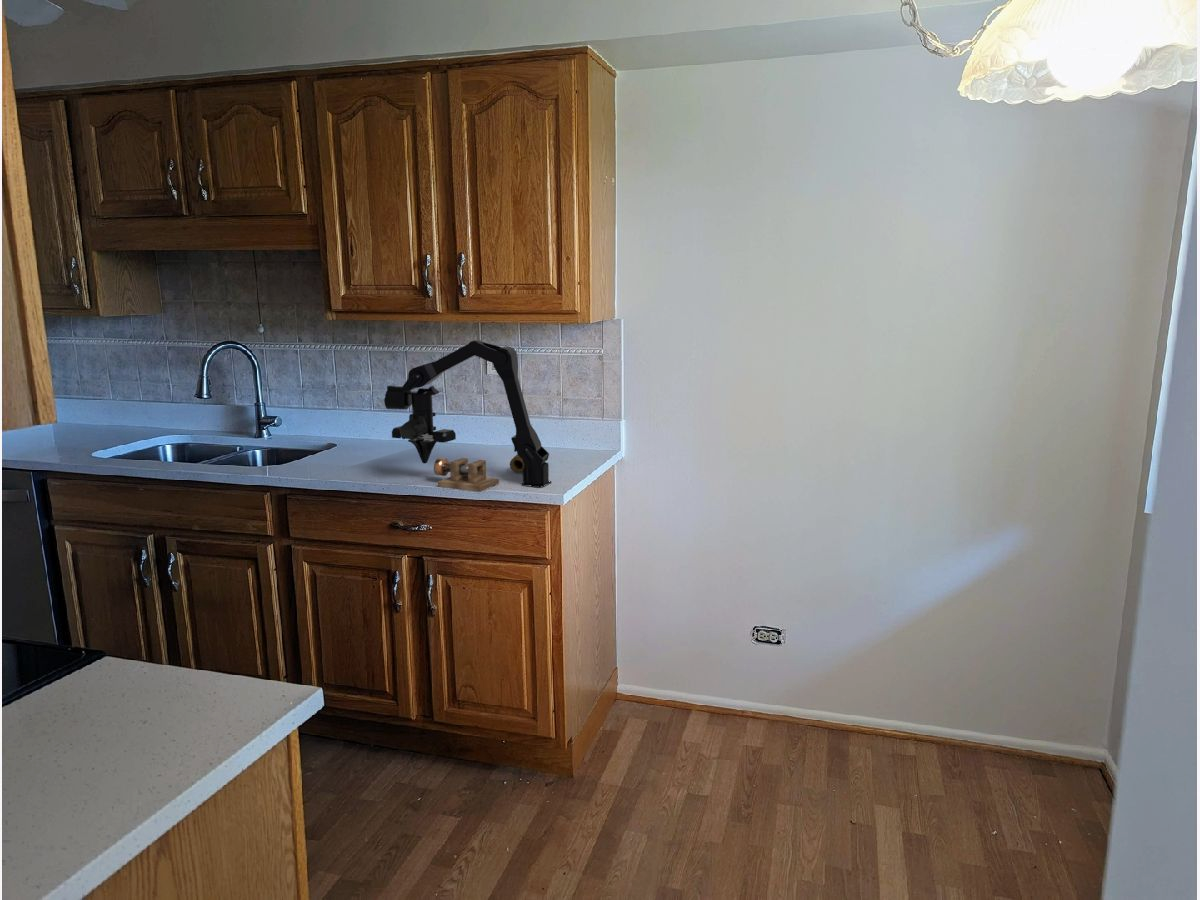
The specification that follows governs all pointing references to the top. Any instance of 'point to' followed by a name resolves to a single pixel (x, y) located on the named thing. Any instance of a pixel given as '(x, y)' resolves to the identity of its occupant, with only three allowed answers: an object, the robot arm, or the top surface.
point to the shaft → (447, 467)
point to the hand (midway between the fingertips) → (424, 463)
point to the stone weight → (517, 464)
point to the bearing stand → (468, 476)
